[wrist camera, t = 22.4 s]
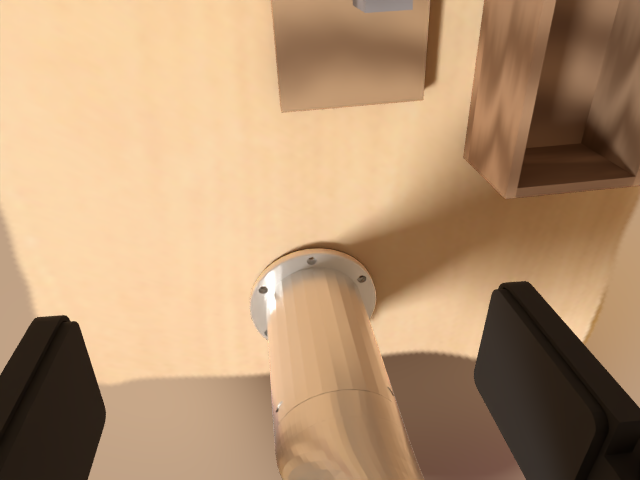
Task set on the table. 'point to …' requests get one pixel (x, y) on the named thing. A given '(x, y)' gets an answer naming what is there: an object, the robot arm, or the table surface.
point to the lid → (349, 52)
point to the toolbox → (556, 96)
